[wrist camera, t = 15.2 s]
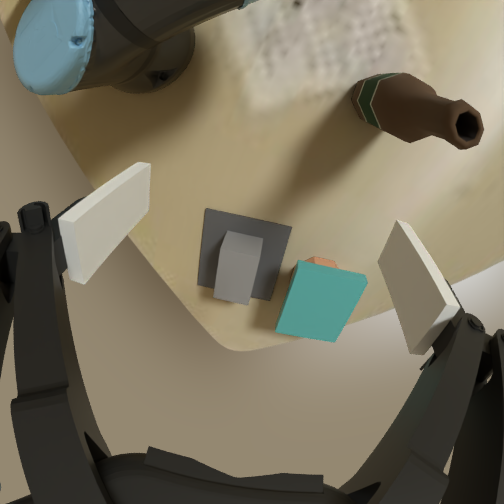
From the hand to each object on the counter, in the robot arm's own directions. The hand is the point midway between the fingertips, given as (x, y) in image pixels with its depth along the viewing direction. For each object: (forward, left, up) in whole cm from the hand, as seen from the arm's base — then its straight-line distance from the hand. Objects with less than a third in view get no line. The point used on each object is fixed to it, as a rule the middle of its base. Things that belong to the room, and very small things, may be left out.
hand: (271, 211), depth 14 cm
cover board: (+12, -24, -23) cm, 35 cm away
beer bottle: (+12, +8, -29) cm, 32 cm away
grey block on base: (-2, -23, -29) cm, 37 cm away
